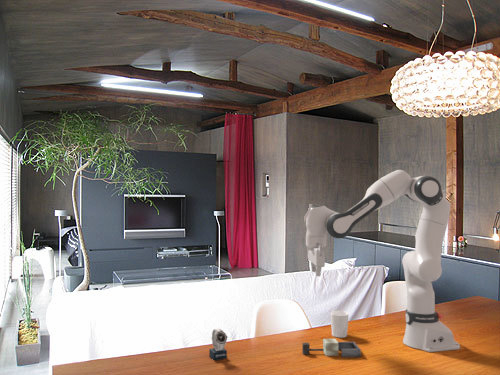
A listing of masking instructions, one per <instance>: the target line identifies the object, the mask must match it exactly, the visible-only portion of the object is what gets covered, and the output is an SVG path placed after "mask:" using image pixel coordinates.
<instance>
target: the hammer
mask: <svg viewBox="0 0 500 375" xmlns="http://www.w3.org/2000/svg"><path fill="white" fill-rule="evenodd" d="M338 342H339V341H338V340H337V339H336V338H323V339H322V346H323V347H322V348H310V342H302V349H301V350H302V354H303V355H305V356H306V355H310V352H323V353H324V355H325V356H326V357H331V356H332V357H339V350H338Z"/></svg>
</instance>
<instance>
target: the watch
mask: <svg viewBox="0 0 500 375" xmlns="http://www.w3.org/2000/svg"><path fill="white" fill-rule="evenodd" d="M228 338H229V337H228V335H227V334H226V333H225V332H224V330H223V329H222V328H214V329H213V330H212V332H211V342H212V343H211V344H212V346H213V347H212V348H209V349H208V350H209V354H208V356H209V358H210V359H211V360H212V359H213V360H216V361H220V359H221V360H224V359H227V358H228V350H227V349H226V348H225V347H226V344H227V340H228ZM213 360H212V361H213Z"/></svg>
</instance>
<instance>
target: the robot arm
mask: <svg viewBox="0 0 500 375" xmlns="http://www.w3.org/2000/svg"><path fill="white" fill-rule="evenodd" d="M402 196H406V197H407V198H408V199H409V200H411V201H414V202H419V203H421V207H422V208H421V210H422V212H421V214H420V218H419V221H418V224H417V227H416V231H415V233H414V235H415V237H414V238H415V248H414V250H411V251H407V252H406V253H405V254H404V255H403V257H402V259H401V261H402V262H401V263H402V266H403V272H404V280H405V287H406V309H405V324H406V325H405V330H404V336H403V339H402V343H403V344H404V345H406V346H408V347H410V348H413V349H417V350H422V351H426V352H429V353H433V352H434V353H435V352H444V351H453V350H460V349H461V346H460V343H459V342H458V341H456V340H455V337H454V333H453V331H452V330H451V329H450V328H449V327H448V326H447V325H445V324H444V323H443V322H441V321H440V320H444V315H443V314H441V313H439V312H436V310H435V309H436V307H435V306H436V304H435V300H436V298H435V296H436V294H435V291H434V288H433V282H435V281H437V280H439V278H440V277H441V276H442V273H443V267H442V250H443V248H442V246H443V242H444V238H445V236H446V231H447V227H448V225H449V220H450V216H451V215H450V213H451V203H450V201H449V200H447V199H446V198H445V197H444V195H443V191H442V185H441V183H440V181H439V180H438V179H437V178H435V177H433V176H431V175H420V176H416V177H412V176H410V174H409V173H407V171H405V170H403V169H396V170H394V171H391V172H389V173H388V174H386V175H384V176H382V177H380V178H379V179H377V180H376V181H375V182H374V183H372V184H371V185H370V186H369V187H368V188H367V190H366V192H365V195H364V197H363V198H362V200H360V201H359V202H358V203H357V204H355V205H353V206H352V207H351V208H349V209H348V210H347V211H345V212H342V213H340V212H337V211H335V210H332V209H330V208H328V207H327V206H325V204H318V205H310V209H309V212H308V214H307V215H306V217H305V228H306V232H305V233H306V234H305V246H306V251H307V252H306V253H307V260H308V261H309V262H310V266H311V272H312V273H315V277H321V272H322V268H324V267H325V266H326V263H325V262H326V260H325V259H326V257H325V249H324V248H326V247H327V234H329V235H330V236H331V238H335V239H344V238H346V237H348V236H349V234H350V233H351V232H352V230H353V228H354V226H356V224H358V223H359V222H361V221H363V219H365V218H366V217H368V216H369V215H370V214H372V213H373V212H376V211H377V210H379V209H381V208H384V207H386V206H388V205H389V204H391V203H393V202H394V201H396V200H397V199H398V198H400V197H402Z"/></svg>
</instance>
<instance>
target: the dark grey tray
mask: <svg viewBox="0 0 500 375" xmlns="http://www.w3.org/2000/svg"><path fill="white" fill-rule="evenodd" d="M337 342H338V351H340V356H341V358H361V354H362V353H361V351H362V350H361V348H360V346H358V344H357V343H356V341H337Z"/></svg>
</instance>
